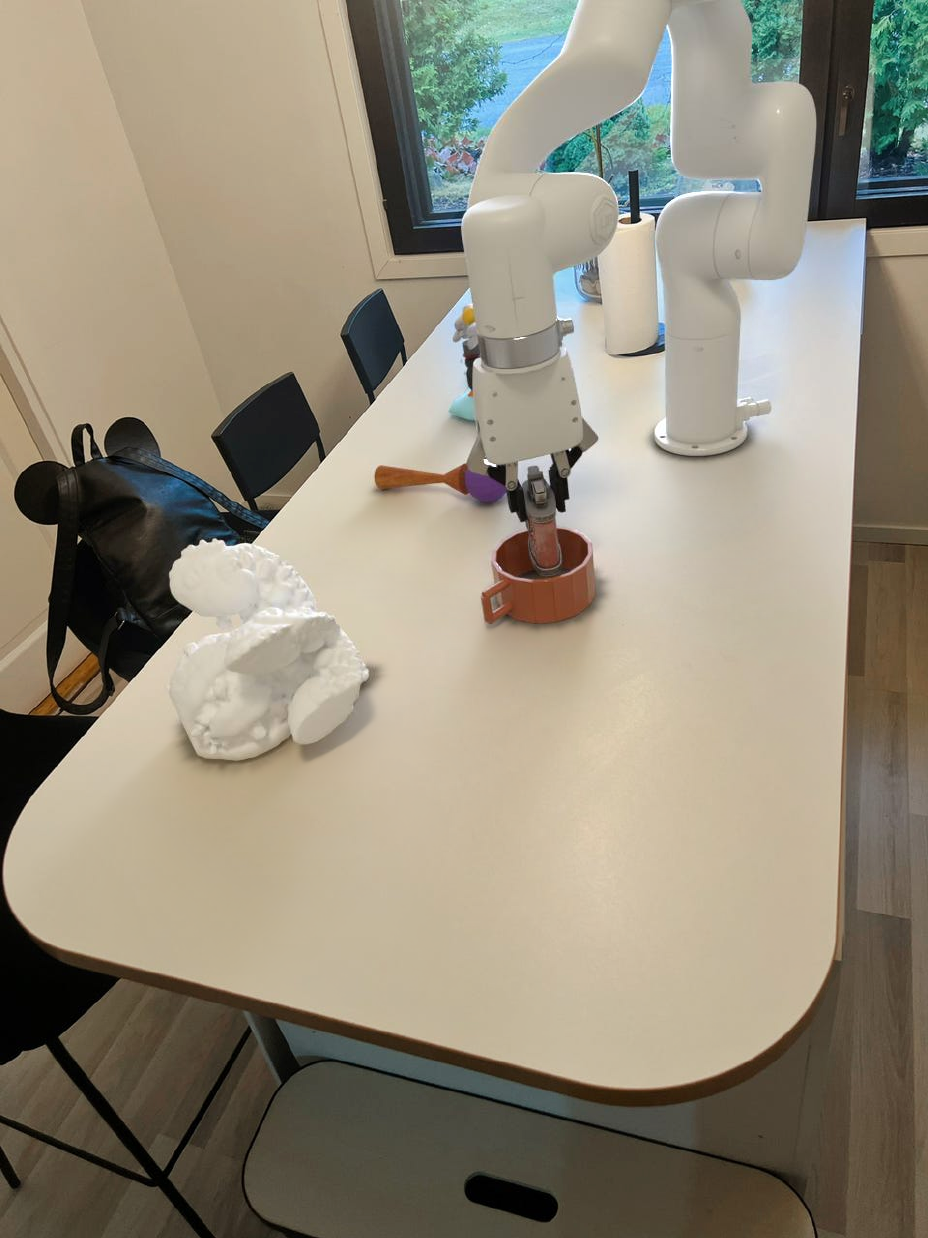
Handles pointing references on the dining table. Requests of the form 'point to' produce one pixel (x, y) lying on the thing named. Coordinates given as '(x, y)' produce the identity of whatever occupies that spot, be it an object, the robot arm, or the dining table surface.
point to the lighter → (541, 523)
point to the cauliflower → (258, 655)
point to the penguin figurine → (466, 361)
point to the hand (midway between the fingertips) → (539, 509)
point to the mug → (540, 580)
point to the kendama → (442, 481)
